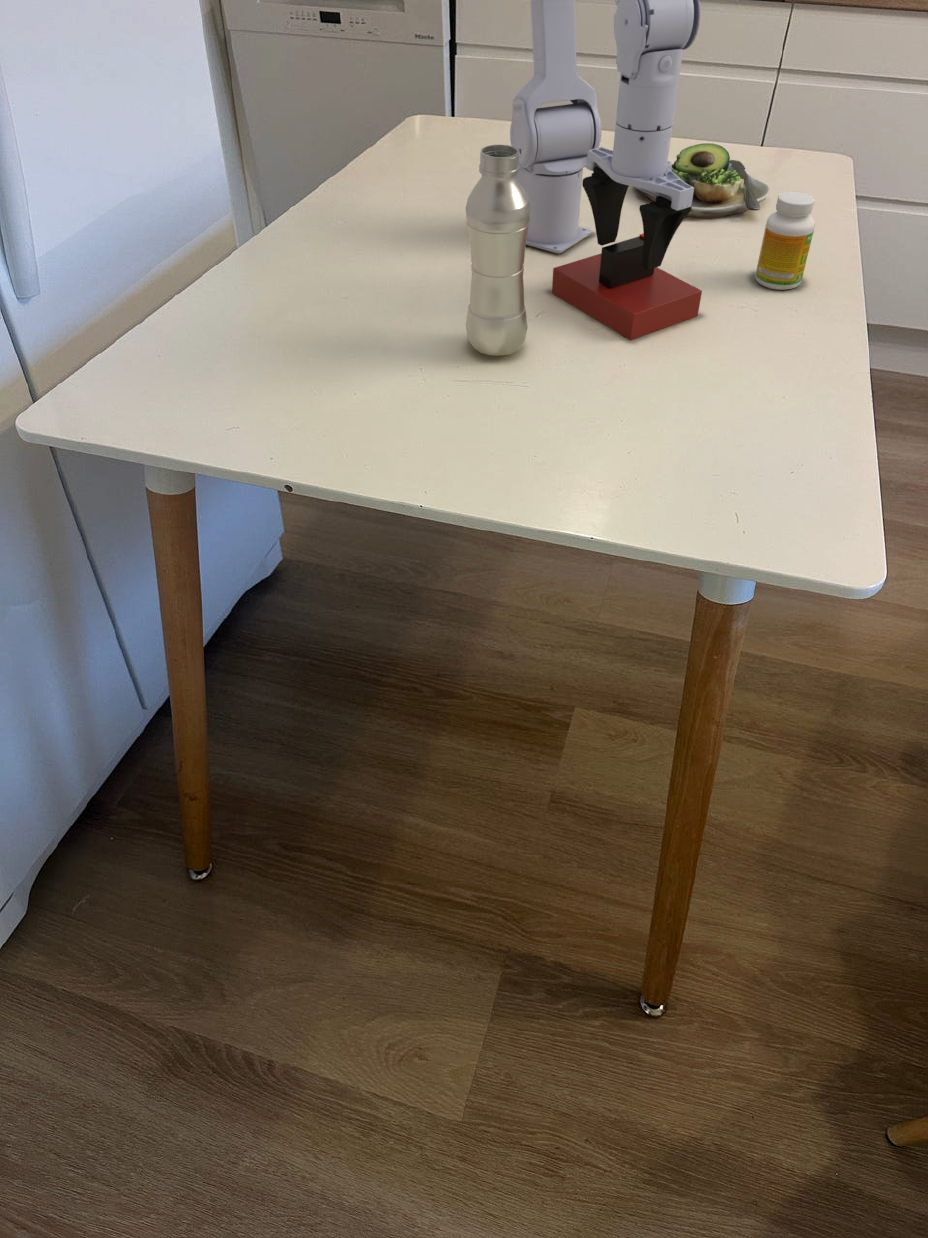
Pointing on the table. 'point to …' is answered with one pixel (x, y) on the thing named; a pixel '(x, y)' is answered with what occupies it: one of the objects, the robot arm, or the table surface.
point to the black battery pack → (623, 263)
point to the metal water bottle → (497, 253)
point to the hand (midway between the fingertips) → (628, 254)
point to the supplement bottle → (786, 242)
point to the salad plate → (716, 182)
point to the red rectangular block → (627, 298)
